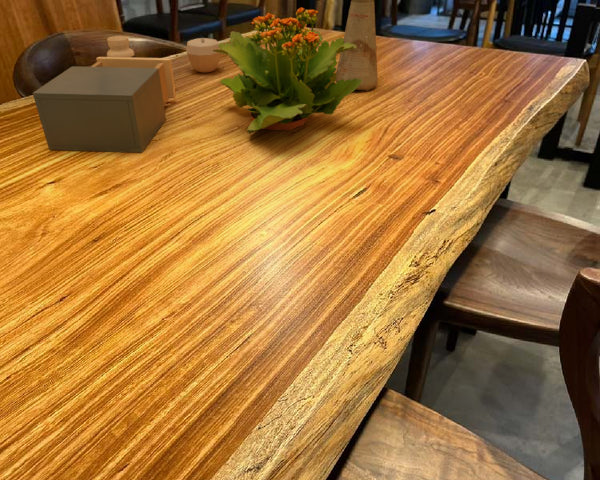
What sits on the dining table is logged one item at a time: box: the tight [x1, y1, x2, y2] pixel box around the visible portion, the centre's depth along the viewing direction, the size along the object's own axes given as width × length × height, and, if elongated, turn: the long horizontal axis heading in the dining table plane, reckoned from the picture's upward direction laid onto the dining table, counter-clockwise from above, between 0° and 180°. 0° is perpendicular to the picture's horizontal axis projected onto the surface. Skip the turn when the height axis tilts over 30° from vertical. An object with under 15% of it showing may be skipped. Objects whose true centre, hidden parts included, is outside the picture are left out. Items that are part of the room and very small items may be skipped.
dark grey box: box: [32, 65, 167, 154], centre depth 85 cm, size 15×15×9 cm
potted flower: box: [213, 7, 362, 135], centre depth 89 cm, size 25×24×18 cm
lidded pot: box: [185, 37, 222, 74], centre depth 117 cm, size 8×8×7 cm
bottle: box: [335, 0, 379, 91], centre depth 102 cm, size 9×9×28 cm
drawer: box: [90, 56, 177, 105], centre depth 96 cm, size 18×13×7 cm
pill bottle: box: [106, 35, 136, 58], centre depth 107 cm, size 5×5×9 cm
